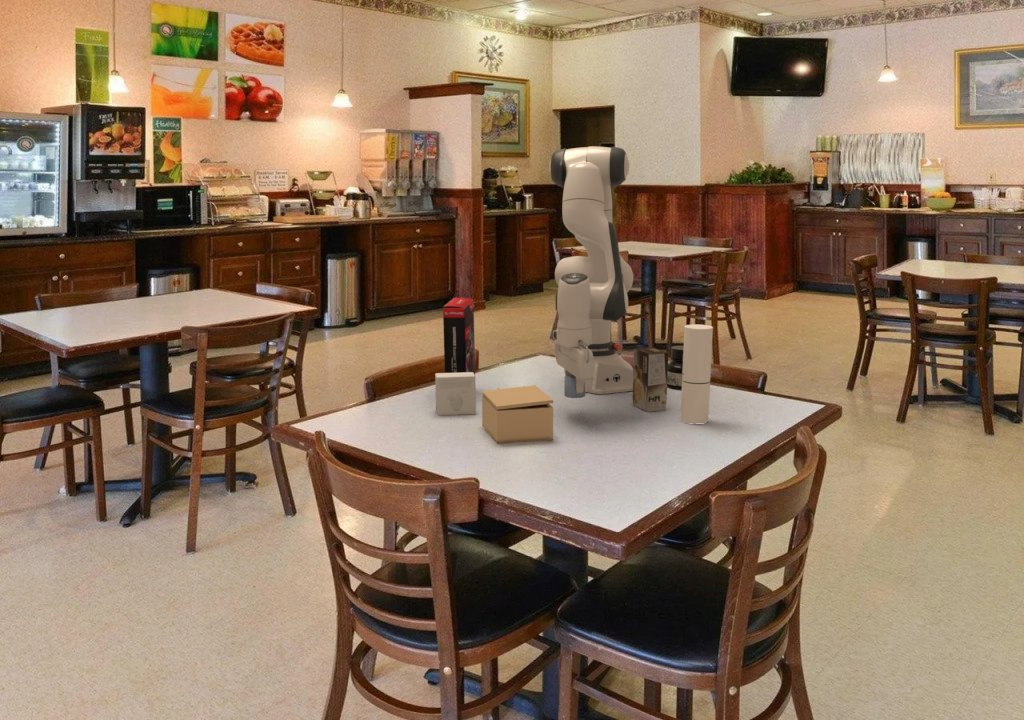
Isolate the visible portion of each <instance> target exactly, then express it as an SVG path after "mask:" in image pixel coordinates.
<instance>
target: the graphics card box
mask: <svg viewBox="0 0 1024 720" xmlns="http://www.w3.org/2000/svg"><path fill="white" fill-rule="evenodd" d="M474 303H475V302H474V299H473V298H469V297H453V298H451V300H449V301H448V302H447V303H446V304H444V305H443V306H442V314H443V315H442V316H443V317H442V318H443V319H442V322H443V355H444V357H443V360H444V362H443V363H444V373H462V372H473V373H474V375H475V376H476V355H475V354H476V353H475V352H476V351H475V350H476V349H475V345H476V343H475V313H474V312H475V311H474V310H475V308H474V307H475V305H474Z"/></svg>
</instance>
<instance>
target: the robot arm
mask: <svg viewBox="0 0 1024 720" xmlns="http://www.w3.org/2000/svg"><path fill="white" fill-rule="evenodd" d="M548 170H549V175H550V178H551V182H552V183H553V184H555V185H556V186H557V187H558V186H559V187H561V188H563V192H562V202H561V203H562V206H561V207H562V208H561V209H562V210H561V212H562V213H561V214H562V222H563V225H564V226H565V228H566V230H568V231H569V232H570V233H572V234H573V235H574V237H575V239H576V241H577V242H579V243H580V245H582V246H583V248H584V249H585V251H586V253H587V256H582V255H574V256H568V257H564V258H562V259H560V260H559V262H558V263H557V265H556V266H555V269H554V279H555V283H556V284H557V286H558V288H557V291H556V292H555V310H556V312H557V313H558V320H557V323H556V324H557V325H556V326H557V329H555V330H553V331H552V338H553V339H554V354H555V360H556V363H557V365H558V366H560V367H561V368H563V371H564V375H565V376H566V375H571V374H573V375H574V376H575V377H576V380H577V381H576V385H575V391H576V392H577V393H582V392H583V386H584V383H585V393H592V394H595V395H605V394H614V393H616V394H617V393H623V392H624V393H625V392H633V366H632V365H631V364H630V363H629V362H627V361H626V360H625V359H624V358H623V357H621V355H619V354H618V353H617V352H620V351H621V350H622V348H623V346H622V344H620V343H616V342H613V341H612V340H611V336H612V335H611V333H612V332H611V331H612V329H611V328H612V326H611V325H612V322H617V321H619V320H620V319H621V318H623V316H625V315H626V314H627V312H628V308H629V296H628V292H629V291H630V290H631V288H632V286H633V284H634V283H633V282H634V272H633V270H632V267H631V265H629V263H628V262H627V261H625V259H624V258H623V257H622V255H621V252H620V247H619V240H618V234H617V230H616V227H615V225H614V223H613V197H612V196H613V195H612V189H613V190H615V189H616V188H617V186H620V185H622V184H623V183H624V182H625V181H626V179H627V176H628V175H629V172H630V162H629V157H628V155H627V152H626V151H625V150H624V148H621V147H619V146H618V147H617V146H611V147H610V146H609V147H607V146H596V145H595V146H593V145H592V146H585V147H575V148H568V149H567V148H561V149H557V150H555V151H554V152H553V153H552V155H551V157H550V160H549V166H548ZM611 187H612V189H611ZM565 376H564V377H565Z"/></svg>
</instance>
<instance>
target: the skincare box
mask: <svg viewBox="0 0 1024 720" xmlns="http://www.w3.org/2000/svg"><path fill="white" fill-rule="evenodd" d="M434 376H435V379H434V380H435V381H434V382H435V386H434V387H435V389H434V390H435V411H436V415H437V416H461V415H476V414H477V411H476V410H477V409H476V408H477V401H476V397H477V395H476V394H477V393H476V389H477V388H476V374H475V375H474V373H473V372H462V373H445V372H438V373H437V372H436V373H435V374H434Z"/></svg>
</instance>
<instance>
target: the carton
mask: <svg viewBox="0 0 1024 720" xmlns="http://www.w3.org/2000/svg"><path fill="white" fill-rule="evenodd" d="M481 396H482V397H481V402H482V403H481V411H482V412H481V413H482V415H481V422H482V423H481V425H482V427H483V429H485V431H486V432H487V433H488V435H489V436H490V437H491V438H492V440H493V441H494V442H495V443H496V444H506V443H508V444H509V443H521V442H522V443H523V442H536V441H537V442H538V441H551V440H552V441H553V440H554V406H552V404H542V405H534V406H525V407H516V408H508V409H499V410H497V409H496V408H495V407H494V406H493V405H492V404H491V403H490V402H489V401H488V400H487V399H486V398H485V397H484V396H483V394H481Z"/></svg>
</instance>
